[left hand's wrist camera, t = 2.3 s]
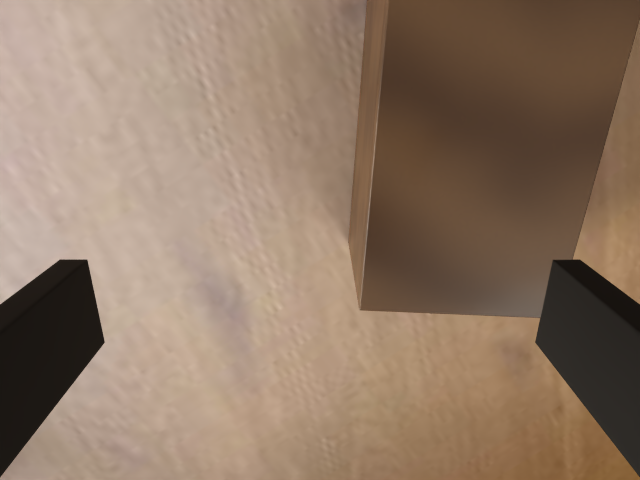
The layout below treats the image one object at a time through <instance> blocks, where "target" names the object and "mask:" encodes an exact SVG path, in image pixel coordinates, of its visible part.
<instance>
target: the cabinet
mask: <svg viewBox="0 0 640 480" xmlns="http://www.w3.org/2000/svg"><path fill="white" fill-rule="evenodd" d="M639 20H640V0H367V8H366V21H365V34H364V47H363V60H362V73H361V86H360V99H359V112H358V125H357V138H356V151H355V164H354V176H353V189H352V202H351V215H350V228H349V241H348V243H349V249H350V255H351V261H352V267H353V273H354V280H355V286H356V292H357V298H358V305H359V310H366V311H390V312H414V313H437V314H461V315H485V316H509V317H532V318H541V313H542V308H543V304H544V299H545V294H546V289H547V285H548V280H549V275H550V270H551V266H552V261H553V260H572V259H573V256H574V252H575V249H576V245H577V242H578V238H579V234H580V231H581V227H582V224H583V220H584V217H585V213H586V209H587V206H588V202H589V199H590V195H591V191H592V188H593V184H594V181H595V177H596V174H597V170H598V166H599V163H600V159H601V156H602V152H603V149H604V145H605V141H606V138H607V134H608V131H609V127H610V124H611V120H612V116H613V113H614V109H615V106H616V102H617V98H618V95H619V91H620V88H621V84H622V81H623V77H624V73H625V70H626V66H627V63H628V59H629V56H630V52H631V48H632V45H633V41H634V38H635V34H636V30H637V27H638V23H639Z"/></svg>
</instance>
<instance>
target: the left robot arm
mask: <svg viewBox="0 0 640 480" xmlns="http://www.w3.org/2000/svg"><path fill="white" fill-rule="evenodd" d="M104 343H105V342H104V337H103V332H102V327H101V323H100V318H99V313H98V308H97V304H96V299H95V294H94V289H93V285H92V280H91V275H90V270H89V266H88V261H87V260H59V261H58V262H56V263H55V264H54V265H52V266H51V267H50V268H48V269H47V270H46V271H44V272H43V273H42V274H40V275H39V276H38V277H36V278H35V279H34V280H32V281H31V282H30V283H28V284H27V285H26V286H24V287H23V288H22V289H20V290H19V291H18V292H16V293H15V294H14V295H12V296H11V297H10V298H8V299H7V300H6V301H4V302H3V303H2V304H0V477H1V475H2V474H3V473H4V472H5V470H6V469H7V468H8V466H9V465H10V464H11V463H12V461H13V460H14V459H15V457H16V456H17V455H18V453H19V452H20V451H21V450H22V448H23V447H24V446H25V444H26V443H27V442H28V441H29V439H30V438H31V437H32V435H33V434H34V433H35V432H36V430H37V429H38V428H39V426H40V425H41V424H42V423H43V421H44V420H45V419H46V417H47V416H48V415H49V414H50V412H51V411H52V410H53V408H54V407H55V406H56V404H57V403H58V402H59V401H60V399H61V398H62V397H63V395H64V394H65V393H66V392H67V390H68V389H69V388H70V386H71V385H72V384H73V383H74V381H75V380H76V379H77V377H78V376H79V375H80V374H81V372H82V371H83V370H84V368H85V367H86V366H87V365H88V363H89V362H90V361H91V359H92V358H93V357H94V355H95V354H96V353H97V352H98V350H99V349H100V348H101V346H102V345H103V344H104ZM535 343H536V344H537V345H538V346H539V348H540V349H541V350H542V352H543V353H544V354H545V355H546V357H547V358H548V359H549V361H550V362H551V363H552V365H553V366H554V367H555V368H556V370H557V371H558V372H559V374H560V375H561V376H562V377H563V379H564V380H565V381H566V383H567V384H568V385H569V386H570V388H571V389H572V390H573V392H574V393H575V394H576V395H577V397H578V398H579V399H580V401H581V402H582V403H583V404H584V406H585V407H586V408H587V410H588V411H589V412H590V414H591V415H592V416H593V417H594V419H595V420H596V421H597V423H598V424H599V425H600V426H601V428H602V429H603V430H604V432H605V433H606V434H607V435H608V437H609V438H610V439H611V441H612V442H613V443H614V444H615V446H616V447H617V448H618V450H619V451H620V452H621V453H622V455H623V456H624V457H625V459H626V460H627V461H628V463H629V464H630V465H631V466H632V468H633V469H634V470H635V472H636V473H637V474H638V475H639V477H640V304H638V303H637V302H636V301H634V300H633V299H632V298H630V297H629V296H628V295H626V294H625V293H624V292H622V291H621V290H620V289H618V288H617V287H616V286H614V285H613V284H612V283H610V282H609V281H608V280H606V279H605V278H604V277H602V276H601V275H600V274H598V273H597V272H596V271H594V270H593V269H592V268H590V267H589V266H588V265H586V264H585V263H584V262H582V261H581V260H553V261H552V266H551V270H550V275H549V280H548V285H547V289H546V294H545V299H544V304H543V308H542V313H541V318H540V323H539V327H538V332H537V337H536V342H535Z"/></svg>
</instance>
